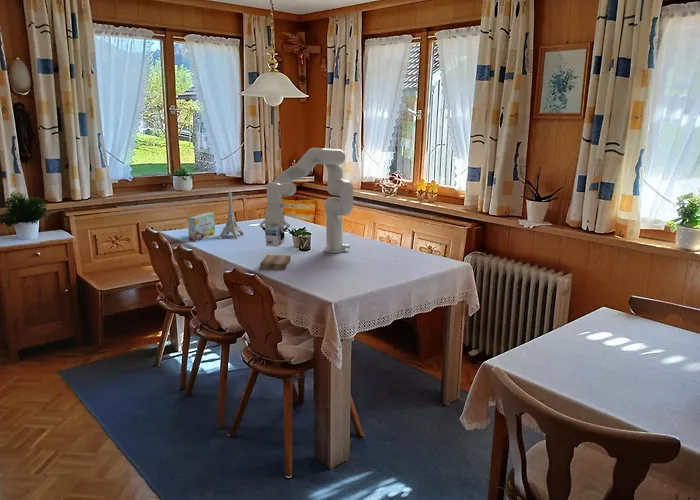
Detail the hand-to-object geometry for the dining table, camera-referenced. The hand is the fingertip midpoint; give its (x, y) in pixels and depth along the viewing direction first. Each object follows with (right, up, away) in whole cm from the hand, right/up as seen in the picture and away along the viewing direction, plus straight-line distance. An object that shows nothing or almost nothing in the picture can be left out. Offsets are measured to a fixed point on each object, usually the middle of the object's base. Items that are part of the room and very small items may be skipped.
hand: (275, 239), depth 295 cm
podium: (0, -14, +4) cm, 14 cm away
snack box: (-55, +2, +63) cm, 84 cm away
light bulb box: (0, -3, +1) cm, 3 cm away
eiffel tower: (-37, +3, +68) cm, 77 cm away
